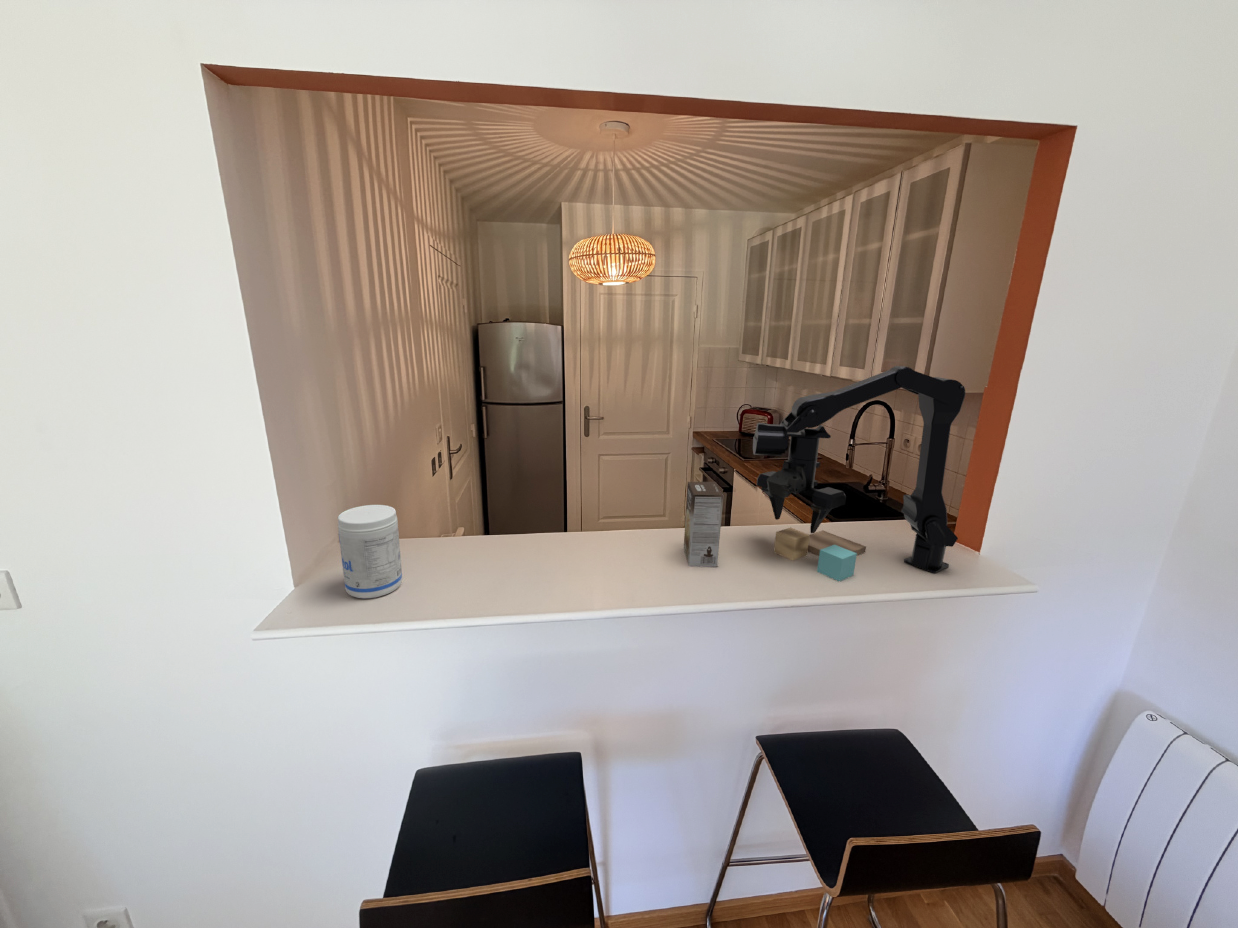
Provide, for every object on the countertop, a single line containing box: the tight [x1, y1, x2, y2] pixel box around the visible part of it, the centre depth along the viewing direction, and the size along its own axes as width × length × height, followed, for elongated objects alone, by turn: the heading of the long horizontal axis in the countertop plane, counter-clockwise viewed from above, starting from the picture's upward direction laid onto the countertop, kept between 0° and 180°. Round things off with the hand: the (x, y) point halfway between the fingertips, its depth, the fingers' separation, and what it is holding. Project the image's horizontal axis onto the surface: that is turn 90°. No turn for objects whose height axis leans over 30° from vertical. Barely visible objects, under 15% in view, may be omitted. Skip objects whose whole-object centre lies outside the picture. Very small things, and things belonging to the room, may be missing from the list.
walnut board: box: [807, 529, 867, 557], centre depth 113 cm, size 11×11×2 cm
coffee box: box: [683, 481, 724, 568], centre depth 104 cm, size 9×6×16 cm
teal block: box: [816, 545, 857, 582], centre depth 100 cm, size 5×5×5 cm
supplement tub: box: [337, 504, 403, 599], centre depth 89 cm, size 10×10×15 cm
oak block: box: [773, 527, 810, 561], centre depth 109 cm, size 5×5×5 cm
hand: (794, 525), depth 108 cm, fingers open, 9 cm apart
